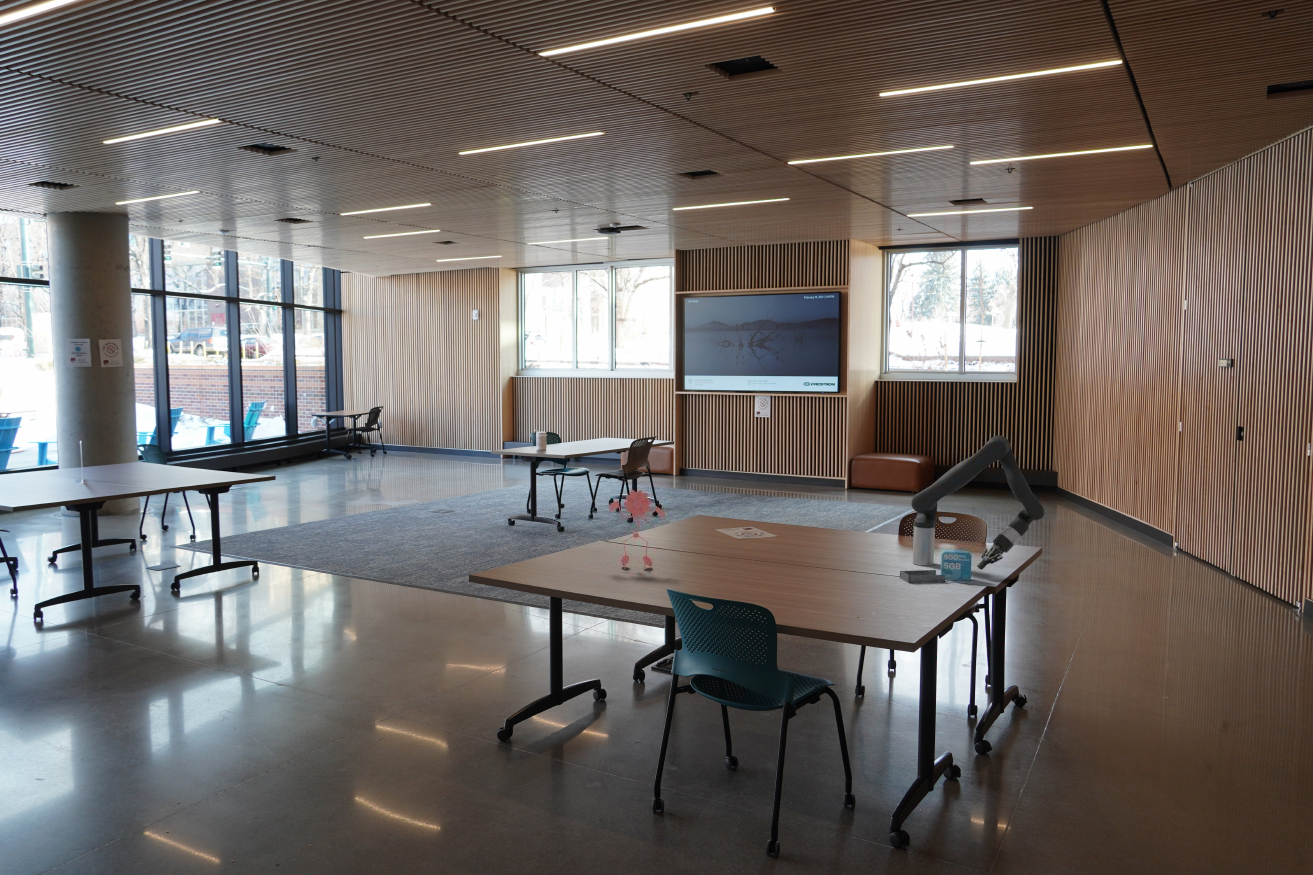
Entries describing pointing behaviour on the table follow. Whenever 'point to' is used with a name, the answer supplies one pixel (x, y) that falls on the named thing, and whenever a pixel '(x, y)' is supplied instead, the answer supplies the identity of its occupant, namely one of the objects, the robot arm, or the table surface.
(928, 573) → the keeper bracket
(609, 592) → the table surface
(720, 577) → the table surface
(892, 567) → the table surface
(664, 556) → the table surface
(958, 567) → the data package
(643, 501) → the pink fuzzy puppet
